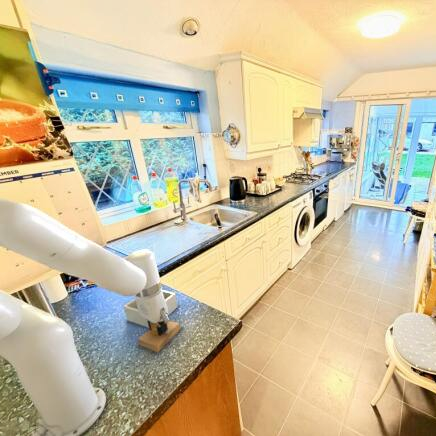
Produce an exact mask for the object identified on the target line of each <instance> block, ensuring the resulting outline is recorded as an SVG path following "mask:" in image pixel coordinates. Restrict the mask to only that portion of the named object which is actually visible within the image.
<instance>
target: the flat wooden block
mask: <svg viewBox="0 0 436 436" xmlns="http://www.w3.org/2000/svg"><path fill="white" fill-rule="evenodd" d="M167 327H168V330H167V331H166V332H165V333H163V334H162V335H161V336H159V335H157V336H156V335H153V332H152V330H150V329H149V328H148V330H146V332H144V333H143V334H142V335H141V336H140V337H138V339H137V340H138V344H139V346H140V347H143V348H144V349H145V348H146V349H148V350H151V351H153V352H156V353H159V352H160V351H161V350H162V349H163V348H164V347H165V346H166V345H167V344H168V343H169V342H170V341H171V340H172V339H173V338H174V337H175V336H176V335H177V334H178V333H179V332H180V331H181V327H180V323H179V322H176V321H172V320H170V321H169V322H168V323H167Z"/></svg>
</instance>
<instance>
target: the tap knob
mask: <svg viewBox="0 0 436 436" xmlns="http://www.w3.org/2000/svg"><path fill="white" fill-rule="evenodd" d="M161 321H163V319H162V318H161V319H160V320H159V322H161ZM150 325H151V329H152V332H153V335H156V336H157V335H158V332H157V328H156V327H157V324H156V323H153V322H151V321H150Z"/></svg>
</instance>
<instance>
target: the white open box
mask: <svg viewBox="0 0 436 436" xmlns="http://www.w3.org/2000/svg"><path fill="white" fill-rule="evenodd" d="M161 291H162V293H163V296H164V298H165V301H166V305H167V309H168V315H167V317H168V316H169V315H170V314H171V313H173V312H174V311H175V310H176V309H177V308H178V307H179V303H178V300H177V294H176V293H175V292H172V291H168V290H165V289H163V288H162V289H161ZM123 309H124V313H125V317H126V320H127V321H128V322H131V323H134V324H137V325H139V326H142V327H145V328H148V329H149V325H148V322H147V321H149V320H147V319H146V318H144V317H143V316H141V315H140V314H139V312H138V308H137V304H136V299H135V298H134V299H131V301H130V302H128V303H127V304H125V305H124V306H123Z"/></svg>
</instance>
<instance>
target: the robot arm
mask: <svg viewBox="0 0 436 436" xmlns="http://www.w3.org/2000/svg"><path fill="white" fill-rule="evenodd" d="M0 247H2V248H4V249H6V250H9V251H11V252H13V253H16V254H18V255H20V256H23V257H25V258H28V259H29V260H32V261H34V262H37V263H39V264H41V265H44V266H46V267H47V268H50V269H53V270H55V271H57V272H61V273H63V274H65V275H69V276H71V277H75V278H78V279H82V280H85V281H88V282H90V283H93V284H94V285H95V286H97V288H98V287H99V288H100V289H103V290H106V291H109V292H112V293H115V294H117V295H120V296H122V297H135V298H134V299H136V304H137V308H138V312H139V314H140V315H141V316H143V317H144V318H146V319H147V320H149V321H147V322H148V325H149V328H148V330H149V329H150V330H152V329H151V325H150V321H151V322H153V323H156V324H157V327H156V328H157V332H158V335H159V336H161V335H162V334H163V333H165V332H166V331H167V330H168V327H167V323H168V322H169V321H171V320H170V318H169V317H168V316H169V315H168V309H167V305H166V301H165V298H164V296H163V293H162V291H161V289H162V290H163V286H162V282H161V277H160V274H159V269H158V265H157V261H156V256H155V253H154V252H153V251H152V250H149V249H139V250H136V251H133V252H131V253H129V255H127V256H124V257H121V256H119V255H117V254H115V253H113V252H112V251H110V250H108V249H106V248H105V247H102V246H101V245H99V244H97V243H96V242H93V241H92V240H89V239H88V238H86V237H84V236H83V235H82V234H81V235H80V234H79V233H78V232H76V231H74V230H72V229H70V228H68V227H67V226H66V225H64V224H62V223H61V222H59V221H58V220H56V219H54V218H52V217H51V216H50V215H48V214H46V213H44V212H43V211H41V210H39V209H37V208H35V207H33V206H31V205H29V204H26V203H23V202H19V201H14V200H8V199H6V198H5V199H4V198H0ZM167 315H168V316H167ZM161 318H162V319H163V321H161V322H159V320H160V319H161ZM74 340H75V338H74V332H73V330H72V327H71V326H70V325H69V324H68V323H67V322H66V321H65V320H63V319H62V318H60V317H58V316H56V315H54V314H52V313H49V312H47V311H44V310H43V309H40V308H39V307H36V306H34V305H31V304H29V303H27V302H25V301H24V300H21V299H19V298H17V297H15V296H13V295H12V294H10V293H8V292H7V291H5V290H3V289H0V357H2V358H3V359H4V360H6V361H7V362H8V363H9V364H10V365H11V366H12V368H13V369H14V370H15V373H16V375H17V376H16V377H17V379H18V381H19V383H20V385H21V387H22V389H23V390H24V392H25V393H26V395H27V396H28V398H29V400H30V401H31V403H32V405H33V406H34V407H35V409H36V411H37V412H38V414H39V415H40V417H41V419H40V420H39V421H38V424H39V426H37V428H36V429H35V432H34V433H33V434H31V436H81V435H82V434H83V433H85V432H86V431H87V430H89V428H91V427H92V426H93V424H95V422H96V421H97V420H98V419H99V417H100V416H101V414H102V413H103V411H104V409H105V407H106V404H107V403H106V402H107V395H106V393H105V390H103V389H102V388H100V387H93V383H92V382H91V380H90V377H89V375H88V373H87V371H86V368H85V366H84V364H83V362H82V359H81V357H80V355H79V353H78V351H77V347H76V344H75V341H74Z"/></svg>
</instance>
